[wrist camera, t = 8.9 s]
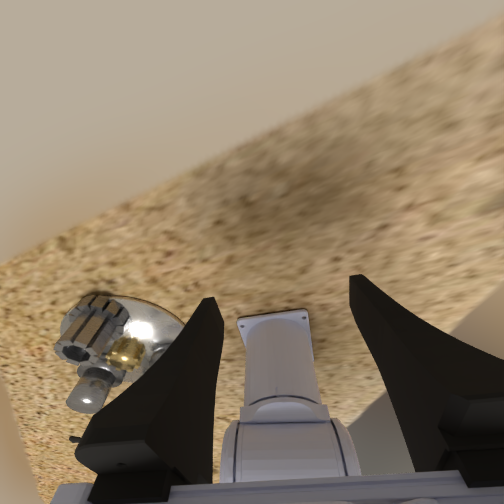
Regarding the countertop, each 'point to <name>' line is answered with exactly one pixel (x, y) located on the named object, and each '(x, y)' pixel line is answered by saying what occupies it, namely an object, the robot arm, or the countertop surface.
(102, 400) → the carrier
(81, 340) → the planet gear
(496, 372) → the robot arm
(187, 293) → the countertop surface
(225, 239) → the countertop surface
